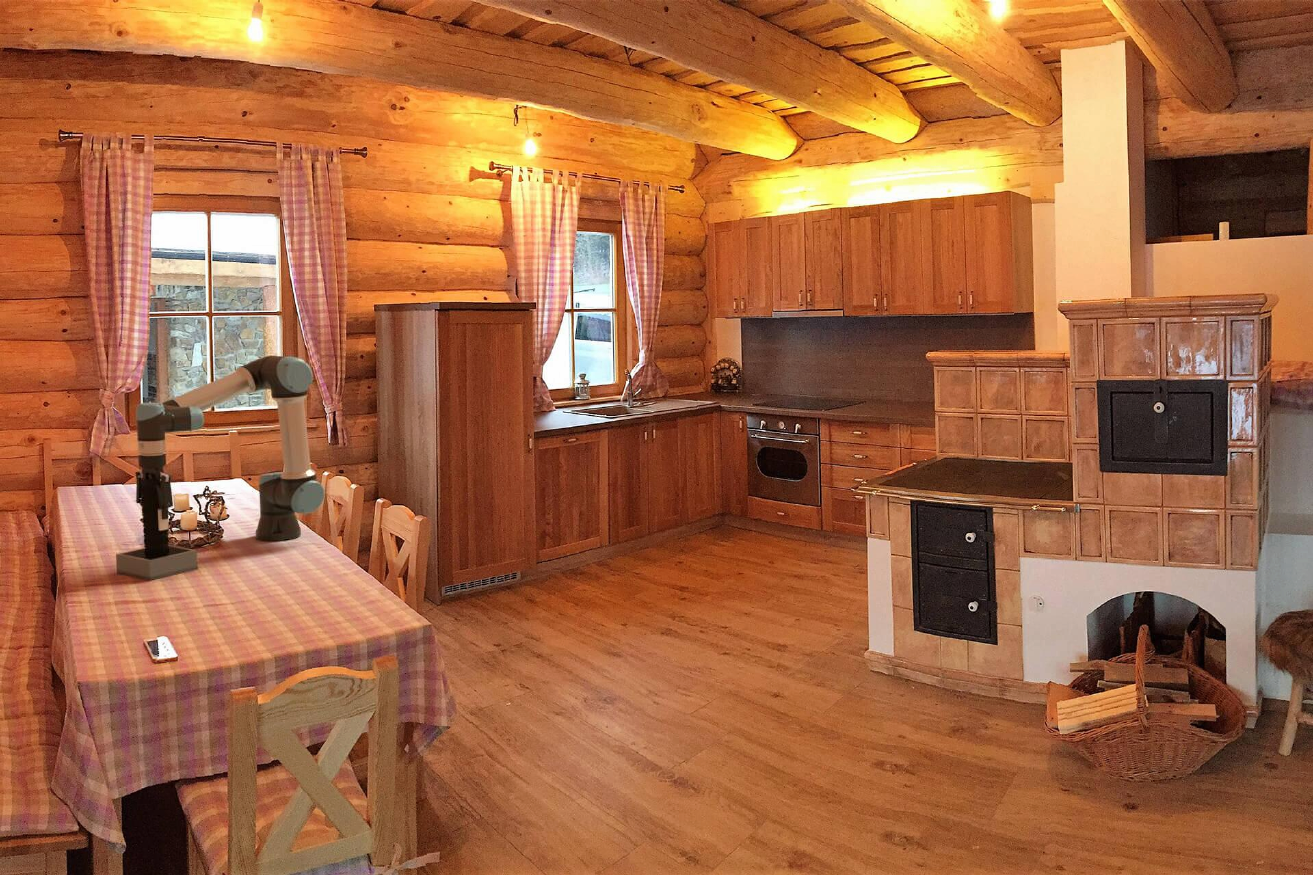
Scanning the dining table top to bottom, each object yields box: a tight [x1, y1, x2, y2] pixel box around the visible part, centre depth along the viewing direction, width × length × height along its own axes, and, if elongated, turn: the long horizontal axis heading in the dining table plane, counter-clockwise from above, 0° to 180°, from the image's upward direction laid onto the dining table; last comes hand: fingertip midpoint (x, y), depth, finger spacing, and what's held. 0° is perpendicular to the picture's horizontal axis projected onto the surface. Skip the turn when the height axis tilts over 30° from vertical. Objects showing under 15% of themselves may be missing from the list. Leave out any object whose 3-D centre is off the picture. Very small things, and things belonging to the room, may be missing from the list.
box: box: [115, 544, 199, 582], centre depth 310 cm, size 16×16×6 cm
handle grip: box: [141, 478, 170, 560], centre depth 308 cm, size 10×26×10 cm
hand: (155, 528), depth 309 cm, fingers closed on handle grip, 7 cm apart
